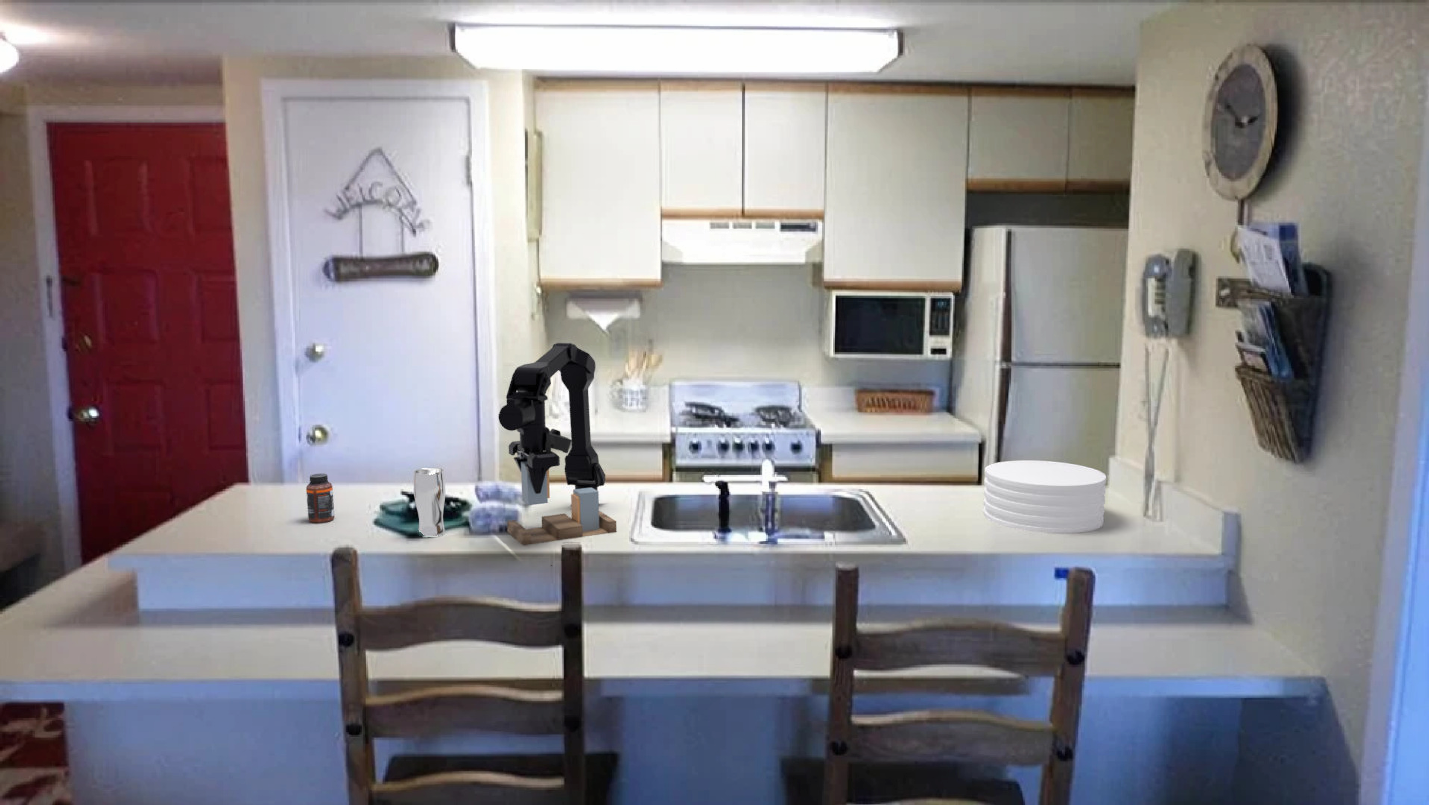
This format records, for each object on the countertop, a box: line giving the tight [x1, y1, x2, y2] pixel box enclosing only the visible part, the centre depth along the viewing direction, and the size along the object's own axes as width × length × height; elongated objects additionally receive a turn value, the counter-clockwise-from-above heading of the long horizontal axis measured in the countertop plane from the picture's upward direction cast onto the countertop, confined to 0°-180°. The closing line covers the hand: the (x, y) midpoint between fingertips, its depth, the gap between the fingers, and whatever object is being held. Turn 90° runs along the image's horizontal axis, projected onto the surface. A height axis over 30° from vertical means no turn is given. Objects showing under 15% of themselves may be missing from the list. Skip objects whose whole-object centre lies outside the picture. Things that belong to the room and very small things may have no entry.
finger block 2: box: [570, 488, 600, 532], centre depth 226 cm, size 4×5×9 cm
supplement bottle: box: [305, 473, 335, 524], centre depth 237 cm, size 6×6×11 cm
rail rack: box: [506, 510, 617, 546], centre depth 224 cm, size 12×22×4 cm, turn 118°
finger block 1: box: [520, 461, 551, 506], centre depth 219 cm, size 4×5×9 cm
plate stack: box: [982, 459, 1107, 534], centre depth 238 cm, size 28×28×12 cm
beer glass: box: [413, 467, 446, 537], centre depth 225 cm, size 7×7×15 cm
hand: (534, 491), depth 219 cm, fingers closed on finger block 1, 4 cm apart
